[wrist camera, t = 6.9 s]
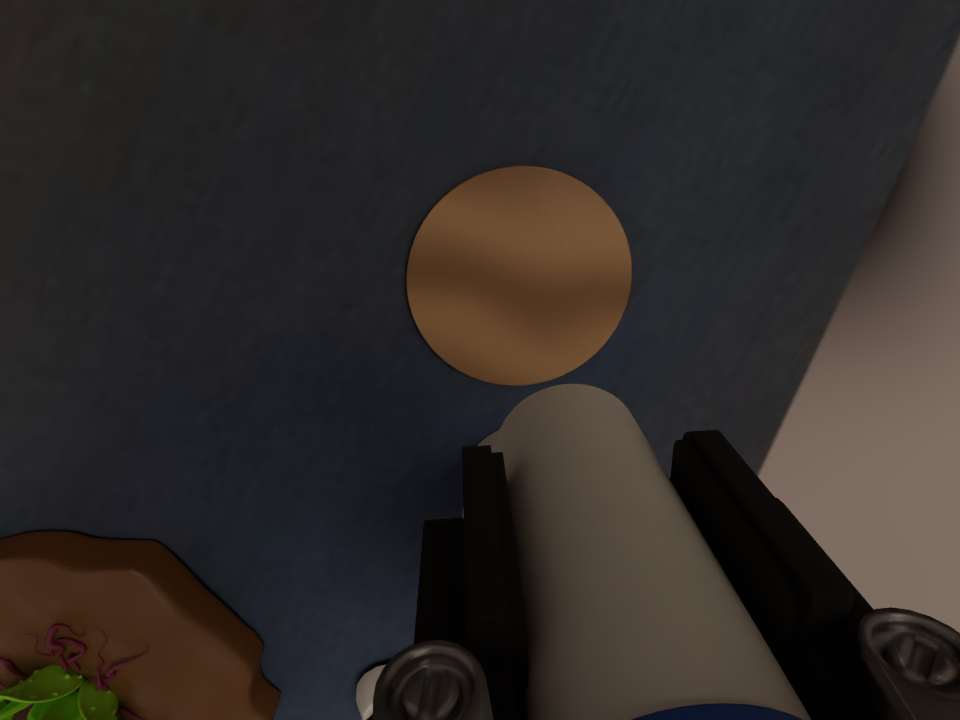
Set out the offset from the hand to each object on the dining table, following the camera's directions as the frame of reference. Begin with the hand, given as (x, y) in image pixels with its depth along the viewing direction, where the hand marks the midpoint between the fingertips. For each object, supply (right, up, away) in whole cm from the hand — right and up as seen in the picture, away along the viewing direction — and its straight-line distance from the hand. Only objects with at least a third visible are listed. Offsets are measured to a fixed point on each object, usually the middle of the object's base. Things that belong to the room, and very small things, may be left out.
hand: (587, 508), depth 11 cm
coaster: (0, +6, +15) cm, 16 cm away
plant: (-25, -15, +23) cm, 37 cm away
